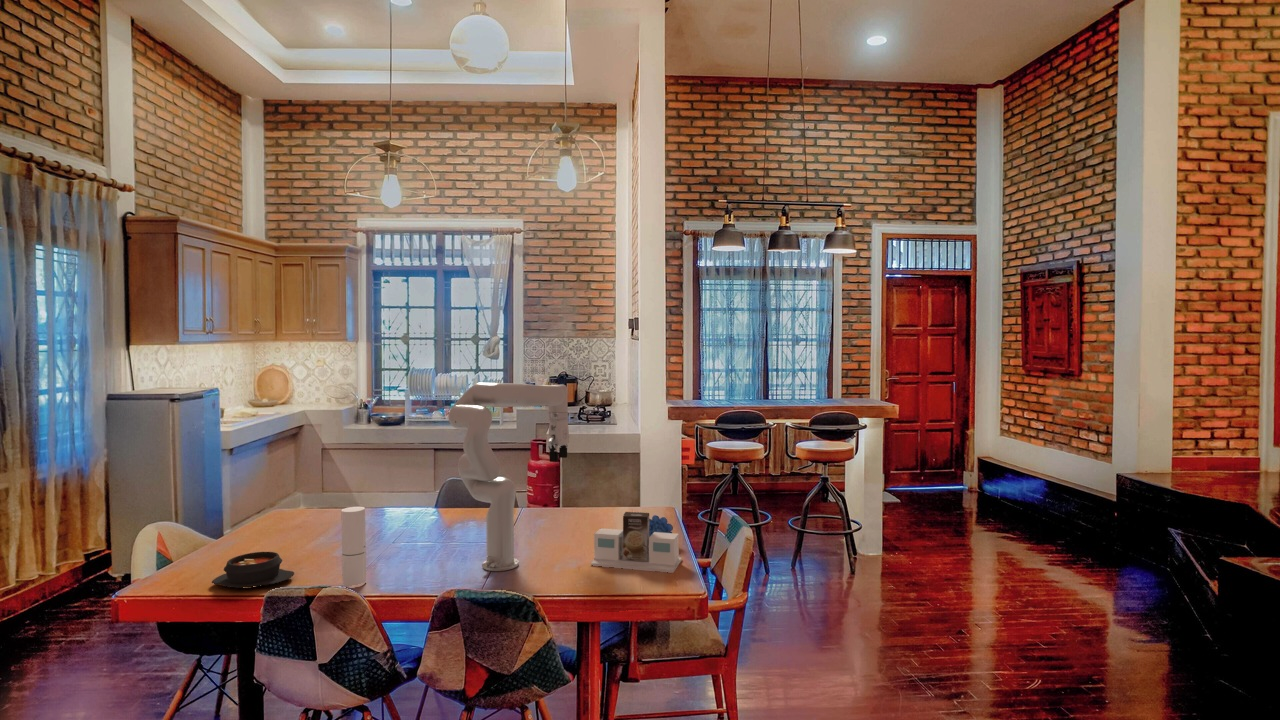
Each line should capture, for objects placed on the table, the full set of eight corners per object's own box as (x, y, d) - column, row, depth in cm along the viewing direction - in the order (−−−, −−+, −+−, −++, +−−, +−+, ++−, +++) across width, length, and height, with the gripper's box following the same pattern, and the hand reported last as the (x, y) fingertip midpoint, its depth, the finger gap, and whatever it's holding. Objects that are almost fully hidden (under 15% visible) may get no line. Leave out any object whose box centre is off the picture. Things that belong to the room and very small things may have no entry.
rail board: (673, 573, 229) (672, 542, 228) (590, 565, 237) (590, 536, 237) (681, 560, 242) (681, 531, 242) (603, 553, 250) (603, 525, 250)
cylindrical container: (369, 580, 224) (368, 506, 223) (361, 588, 217) (360, 511, 216) (347, 581, 224) (346, 506, 223) (339, 588, 216) (337, 512, 216)
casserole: (305, 573, 231) (305, 549, 231) (274, 593, 213) (273, 567, 213) (235, 573, 232) (234, 549, 232) (197, 593, 214) (197, 567, 214)
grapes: (644, 549, 255) (644, 518, 255) (643, 544, 262) (643, 513, 262) (674, 548, 256) (674, 517, 255) (673, 543, 262) (673, 513, 262)
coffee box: (622, 561, 237) (621, 516, 237) (624, 555, 243) (624, 511, 243) (647, 561, 236) (647, 516, 235) (650, 556, 242) (649, 512, 242)
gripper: (558, 418, 253) (558, 463, 254) (575, 414, 270) (575, 456, 270) (540, 418, 255) (540, 463, 256) (557, 413, 272) (558, 455, 272)
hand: (558, 459), depth 263 cm, fingers open, 9 cm apart
